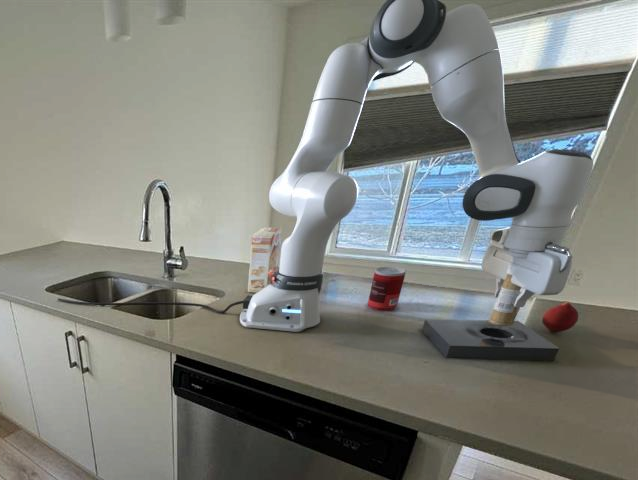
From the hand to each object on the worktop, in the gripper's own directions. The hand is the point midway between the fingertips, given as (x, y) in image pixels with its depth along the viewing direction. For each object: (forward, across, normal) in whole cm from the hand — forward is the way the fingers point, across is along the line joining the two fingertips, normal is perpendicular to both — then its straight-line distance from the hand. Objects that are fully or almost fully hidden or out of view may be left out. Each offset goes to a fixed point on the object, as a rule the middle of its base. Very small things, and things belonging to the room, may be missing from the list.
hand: (508, 301), depth 91 cm
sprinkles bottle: (+5, 0, 0) cm, 5 cm away
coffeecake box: (+11, +52, +45) cm, 69 cm away
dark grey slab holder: (+10, 0, +2) cm, 11 cm away
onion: (+11, +6, -17) cm, 21 cm away
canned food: (+11, +28, +14) cm, 33 cm away
